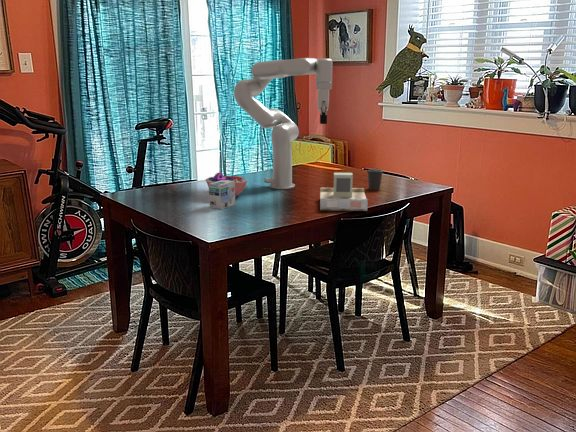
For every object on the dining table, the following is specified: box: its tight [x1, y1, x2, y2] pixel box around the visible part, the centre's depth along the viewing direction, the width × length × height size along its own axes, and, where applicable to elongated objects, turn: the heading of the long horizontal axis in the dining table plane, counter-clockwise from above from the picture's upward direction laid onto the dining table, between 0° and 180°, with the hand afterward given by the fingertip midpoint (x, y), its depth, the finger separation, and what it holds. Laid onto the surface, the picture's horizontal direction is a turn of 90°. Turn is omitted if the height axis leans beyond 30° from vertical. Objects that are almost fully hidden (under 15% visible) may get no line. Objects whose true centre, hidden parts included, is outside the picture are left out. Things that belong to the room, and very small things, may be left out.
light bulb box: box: [208, 180, 236, 210], centre depth 253 cm, size 11×7×11 cm, turn 148°
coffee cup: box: [366, 168, 384, 191], centre depth 286 cm, size 8×8×10 cm
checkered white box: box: [319, 187, 369, 212], centre depth 255 cm, size 20×22×6 cm
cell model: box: [205, 171, 248, 197], centre depth 270 cm, size 17×20×11 cm
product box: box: [333, 172, 354, 197], centre depth 254 cm, size 5×8×10 cm, turn 88°
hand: (323, 122), depth 274 cm, fingers open, 9 cm apart
